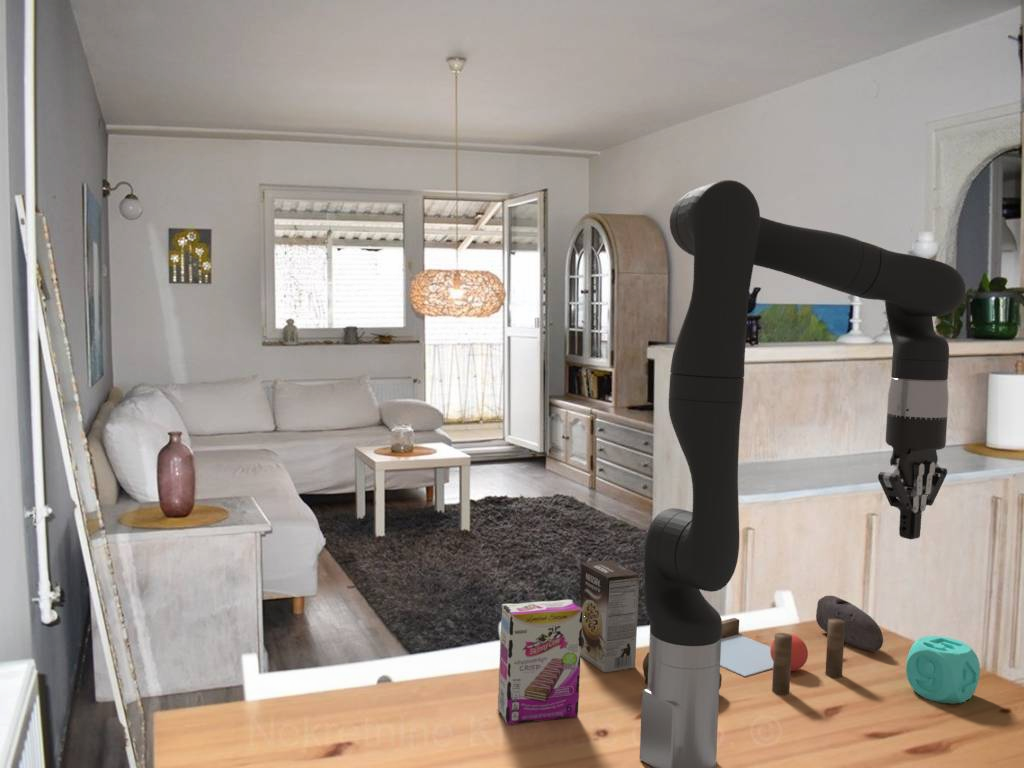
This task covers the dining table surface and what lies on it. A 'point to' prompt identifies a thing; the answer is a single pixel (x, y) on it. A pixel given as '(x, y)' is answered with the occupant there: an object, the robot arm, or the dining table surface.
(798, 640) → the ball
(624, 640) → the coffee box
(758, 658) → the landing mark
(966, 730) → the dining table surface
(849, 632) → the perforated stone tool
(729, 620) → the stopper rail
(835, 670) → the post right
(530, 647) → the candy bar box
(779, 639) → the post left
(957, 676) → the decorative dice
